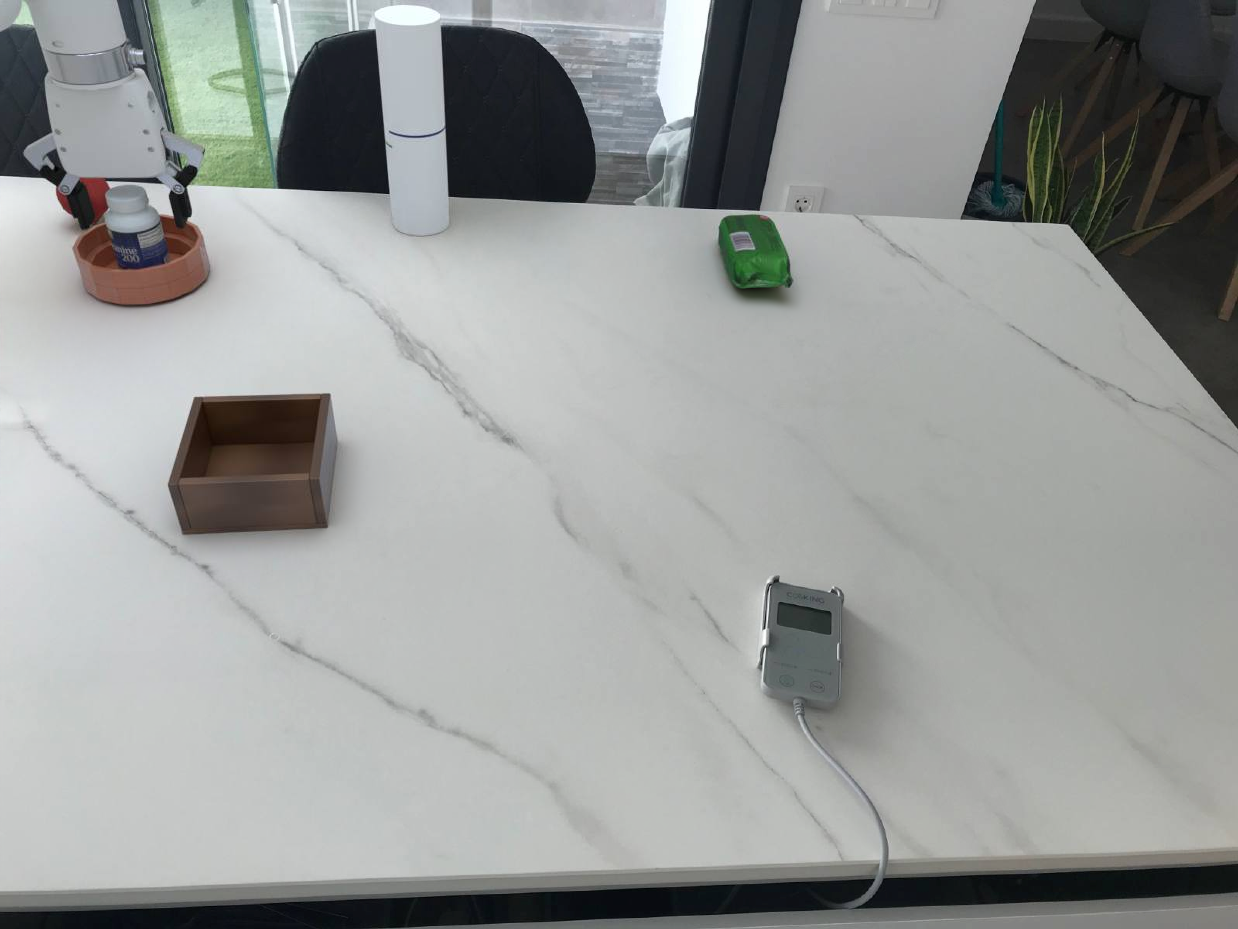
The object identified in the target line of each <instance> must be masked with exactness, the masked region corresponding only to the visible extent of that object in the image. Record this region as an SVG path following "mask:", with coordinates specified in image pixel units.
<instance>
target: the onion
mask: <svg viewBox="0 0 1238 929" xmlns="http://www.w3.org/2000/svg"><path fill="white" fill-rule="evenodd" d="M79 180H80V182H84V185H86V187H87V190H88V193H89V197H90V200H91V203H92V206H93V209H94V212H95V218H94V220H93V222H92V224H91V225H94V224H97V223H98V222H99V221H100V220H101V218H102V217H103V216H105V215H106V213H107V212H108V211H109V210H110V209H109V207H108V205H107V201H106V197H105V194H106V192H107V191H108V190H109V189H111V187H110V185H109V183H108V182H107V180H106V178H82V177H80V179H79ZM55 195H56V199H57V201H58V203H59V204H60V206H61V208H62V209H63V210H64V211H65V212H66V213H67V214H68V215H70V216H71V217H73V215H72V212H71V209H70V206H69V203H68V200H67V197H66V195H65V194H62V193H61V192H60V191H59V189H58V187H57V186H55Z"/></svg>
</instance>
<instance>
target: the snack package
mask: <svg viewBox="0 0 1238 929" xmlns="http://www.w3.org/2000/svg"><path fill="white" fill-rule="evenodd" d="M717 242H718V247H719V249H720V252H721V255H722V258H723V263H724V266H725V269H726V272H727V273H728V276H729V279H730V281H731V282H732V284H733V285H735V287H736V288H738V289H751V288H753V289H754V288H775V287H778V286H783V287H784V288H785V289H786V288H787V289H790V288H791V286H792V284H793V283H794V281H795V280H794V279H793V277H792V275H791V261H790V256H789V253H788V251H787V248H786V246H785V244H784V242H783V240H782V237H781V235H780V232H779V229H778V228H777V225H776V224H775V222H774V221H773V220H772V219H771V217H769V216H766V215H763V214H756V213H755V214H754V213H753V214H751V213H749V214H731V215H726V216H724V217H722V219H721V221H720V223H719V225H718V238H717Z"/></svg>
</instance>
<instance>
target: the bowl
mask: <svg viewBox="0 0 1238 929" xmlns="http://www.w3.org/2000/svg"><path fill="white" fill-rule="evenodd" d="M159 216H160V220H161V224H162V228H163V232H164V236H165V240H166V244H167V248H168V252H169V256H170V260H171V261H170V262H168V263H165V264H163V265H159V266H153V267H148V268H143V269H120V270H119V267H118V264H117V260H116V257H115V254H114V250H113V247H112V243H111V240H110V237H109V233H108V230H107V227H106V223H105V221H104V222H101V223H98V224H96V225H93V226H91V227H90V228H88V229H86V231H84V232H82V233H81V234H79V235H78V236H77V238H76V240H75V241H74V243H73V245H72V247H71V249H72V253H73V255H74V259H75V262H76V265H77V269H78V270H79V271H78V272H79V274H80V277H81V280H82V283H83V286H84V289H85V292H86V293H89V294H90V295H92V296H93V297H95V298H96V299H97V300H99V301H103V302H108V303H113V304H116V305H117V304H118V305H151V304H155V303H160V302H165V301H171V300H174V299H175V298H179V297H181V296H182V295H185V294H188V293H190V292H193V291H194V290H195V289H196V288H198V287H199V286H200V285H201V284H203V282H205V281H206V280H207V278H208V275H209V271H210V268H211V264H210V260H209V256H208V251H207V247H206V243H205V242H206V241H205V238H204V234H203V233H202V231H201V230H200V228H199V226H198V225H197V224H195V223H193V222H191V221H189V219H188V220H187V222H186V225H185V227H184V228H178V227H176V224H175V220H174V216H173V215H169V214H163V213H162V214H161V213H159Z"/></svg>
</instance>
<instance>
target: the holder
mask: <svg viewBox="0 0 1238 929" xmlns="http://www.w3.org/2000/svg"><path fill="white" fill-rule="evenodd" d="M334 414H335V413H334V407H333V401H332V395H331V393H330V392H328V393H327V392H325V393H324V392H323V393H289V394H287V393H286V394H250V395H249V394H248V395H247V394H246V395H212V396H211V395H210V396H209V395H207V396H194V397H193V399H192V402H191V407H190V409H189V413H188V416H187V420H186V423H185V426H184V429H183V432H182V436H181V438H180V443H179V446H178V448H177V452H176V456H175V459H174V462H173V466H172V469H171V472H170V475H169V478H168V482H167V489H168V491H169V495H170V497H171V501H172V504H173V508H174V510H175V514H176V517H177V521H178V524H179V527H180V531H181V534H182V535H190V534H191V535H194V534H195V535H196V534H214V533H215V534H216V533H217V534H219V533H235V532H236V533H237V532H239V533H240V532H257V531H259V532H260V531H279V530H297V529H298V530H300V529H322V528H328V526H329V520H330V519H329V517H330V509H331V501H332V493H333V492H332V491H333V484H334V475H335V467H336V466H335V465H336V458H337V450H338V434H337V428H336V420H335V415H334Z"/></svg>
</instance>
